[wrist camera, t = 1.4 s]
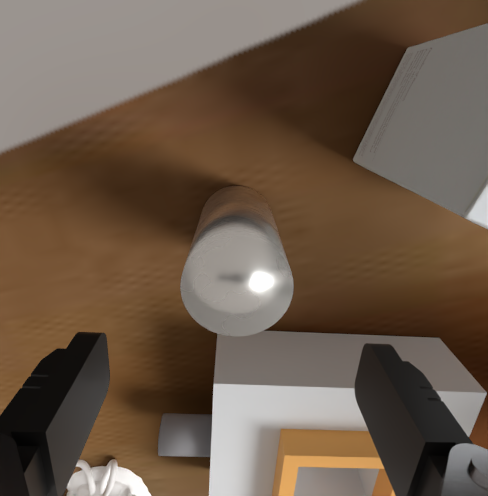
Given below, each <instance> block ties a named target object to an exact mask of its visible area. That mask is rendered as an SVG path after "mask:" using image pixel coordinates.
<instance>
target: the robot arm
mask: <svg viewBox="0 0 488 496" xmlns="http://www.w3.org/2000/svg"><path fill="white" fill-rule="evenodd" d="M109 380H110V370H109V359H108V348H107V338H106V335H105V333H93V332H78V333H77V334H76V335H75V336H74V338H73V339H72V341H71V342H70V344H69V345H68V347H67V348H66V349H56V350H55V351H53V352H52V353H50V354H49V355H48V356H46V357H45V358H43V359H42V360H41V361H40V363H39V364H38V365H37V367H36V368H35V369H34V371H33V372H32V373H31V377H28V379H27V380H26V381H25V383H24V384H23V387H22V388H20V390H19V391H18V392H17V394H16V395H15V396H14V398H13V399H12V400H11V402H10V403H9V405H8V406H7V407H6V409H5V410H4V411H3V413H2V414H1V415H0V496H63V495H64V492H65V490H66V488H67V485H68V483H69V481H70V478H71V476H72V474H73V471H74V469H75V467H76V464H77V462H78V460H79V457H80V455H81V453H82V450H83V448H84V446H85V443H86V441H87V439H88V436H89V434H90V432H91V429H92V427H93V425H94V422H95V420H96V418H97V415H98V413H99V411H100V408H101V406H102V404H103V401H104V399H105V397H106V394H107V391H108V387H109ZM354 389H355V398H356V401H357V404H358V407H359V409H360V411H361V414H362V416H363V419H364V421H365V423H366V426H367V428H368V431H369V433H370V435H371V438H372V440H373V443H374V445H375V447H376V450H377V452H378V455H379V457H380V459H381V462H382V464H383V466H384V469H385V471H386V474H387V476H388V478H389V481H390V483H391V486H392V488H393V490H394V493H395V495H396V496H488V450H487V449H485V448H482V447H480V446H477V445H474V444H473V443H472V441H471V440H470V439H469V437H468V436H467V434H466V433H465V431H464V430H463V429H462V427H461V426H460V424H459V423H458V422H457V420H456V419H455V417H454V416H453V415H452V413H451V412H450V410H449V409H448V407H447V406H446V405H445V403H444V402H443V401H441V398H440V396H439V395H438V393H437V392H436V391H435V390H433V386H432V385H431V383H430V382H429V381H428V379H427V378H426V376H425V375H424V374H423V373H422V372H421V371H420V370H419V369H417V368H416V367H415V366H414V365H412V364H411V363H410V362H409V361H402V359H401V358H400V356H399V355H398V353H397V352H396V350H395V349H394V347H393V346H392V345H390V344H373V343H366V344H365V345H364V346H363V349H362V353H361V357H360V362H359V366H358V370H357V375H356V379H355V387H354Z"/></svg>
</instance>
